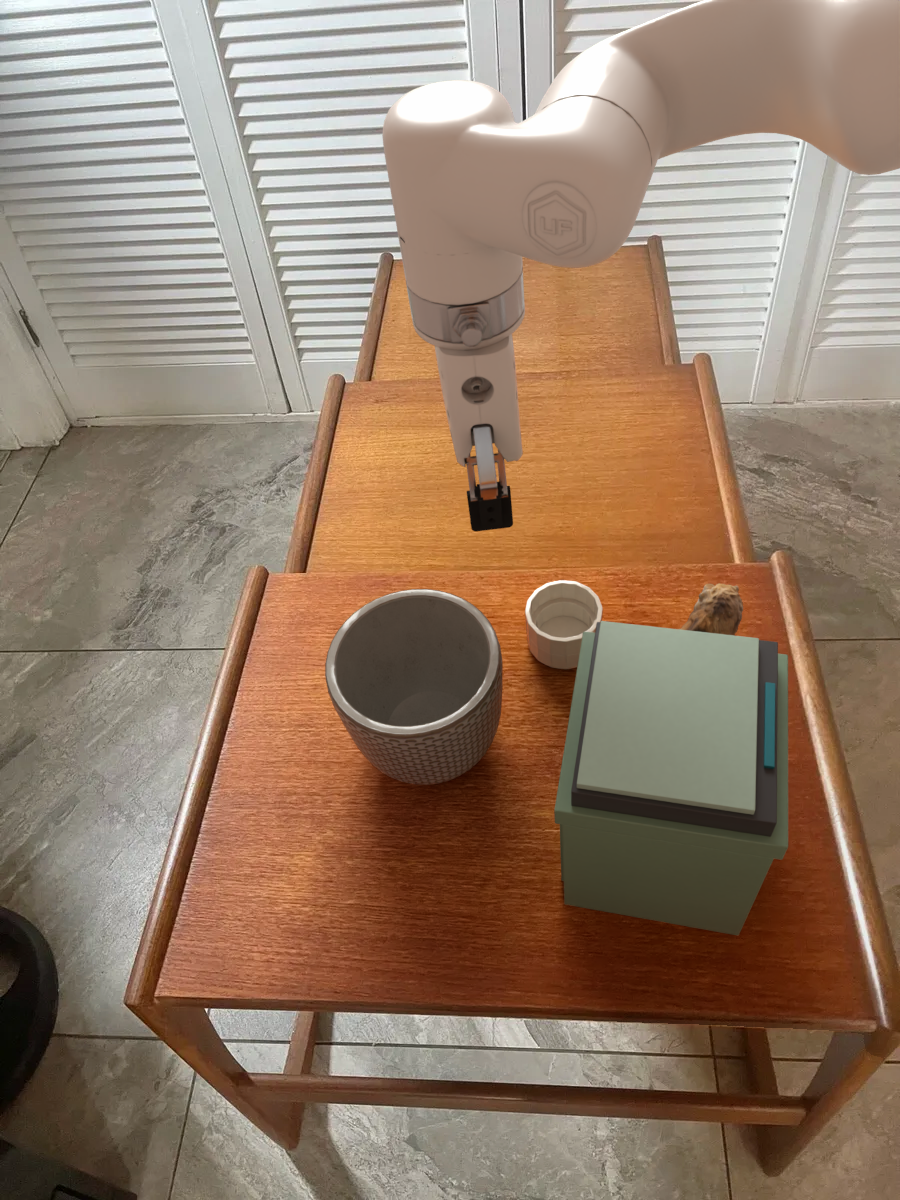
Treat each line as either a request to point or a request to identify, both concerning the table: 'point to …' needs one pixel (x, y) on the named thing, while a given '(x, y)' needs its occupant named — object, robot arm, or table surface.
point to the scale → (680, 728)
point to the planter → (418, 684)
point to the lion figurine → (716, 610)
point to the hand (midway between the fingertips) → (486, 482)
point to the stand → (664, 845)
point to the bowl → (560, 621)
